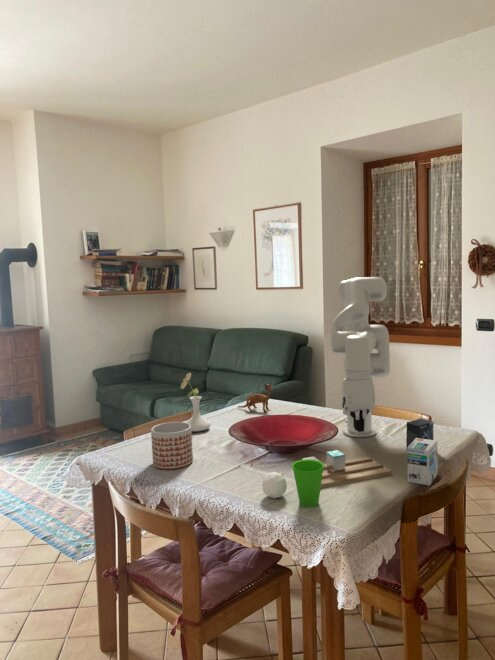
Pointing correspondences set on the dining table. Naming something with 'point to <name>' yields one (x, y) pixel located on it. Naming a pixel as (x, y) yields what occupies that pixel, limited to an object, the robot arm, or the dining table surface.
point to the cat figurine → (259, 399)
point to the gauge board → (353, 471)
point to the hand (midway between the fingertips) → (359, 430)
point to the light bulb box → (422, 461)
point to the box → (419, 430)
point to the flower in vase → (195, 409)
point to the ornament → (274, 485)
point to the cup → (308, 481)
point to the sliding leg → (335, 461)
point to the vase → (172, 445)
